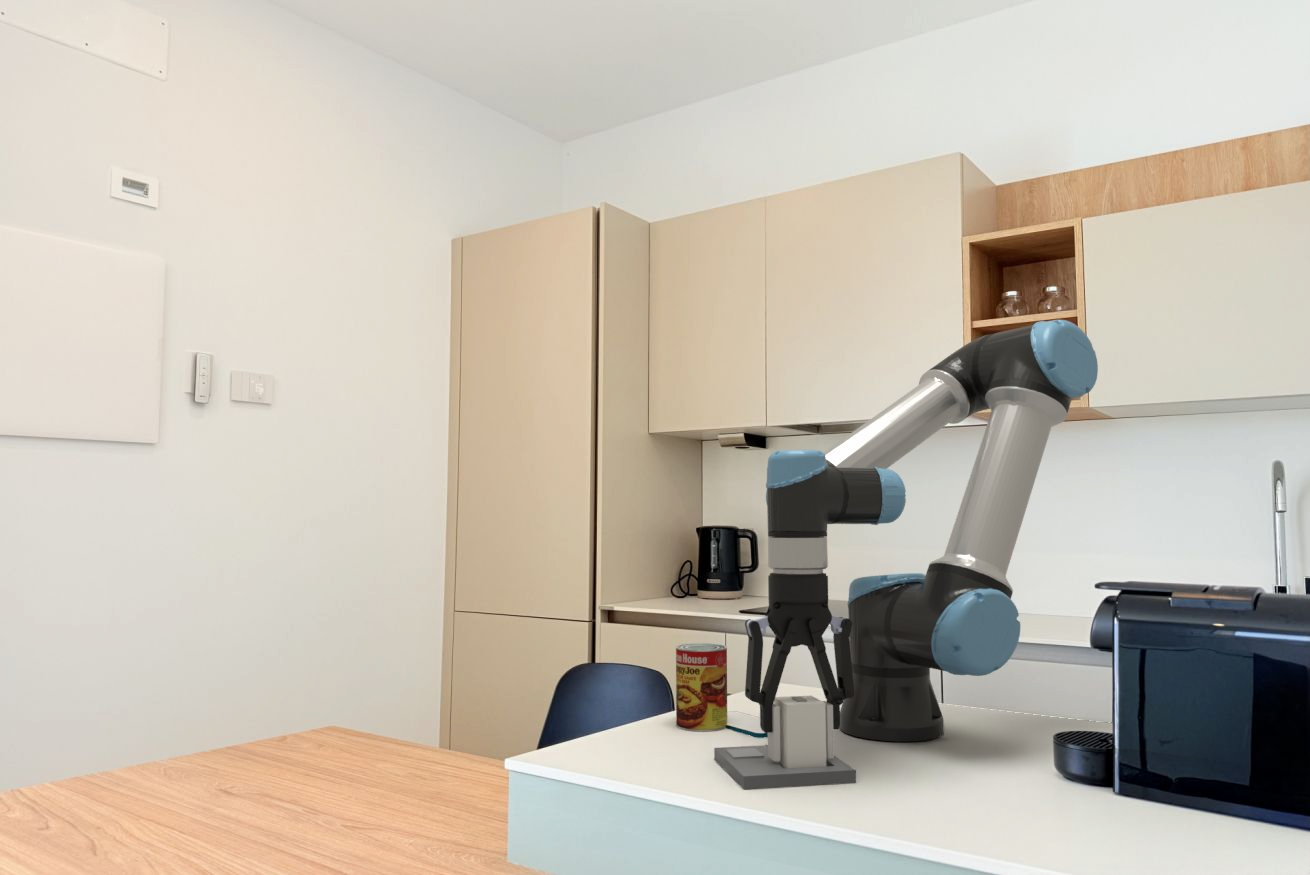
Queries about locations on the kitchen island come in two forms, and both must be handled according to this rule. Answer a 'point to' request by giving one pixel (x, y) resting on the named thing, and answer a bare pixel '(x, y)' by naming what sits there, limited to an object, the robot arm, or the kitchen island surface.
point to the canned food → (701, 687)
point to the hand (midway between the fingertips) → (800, 756)
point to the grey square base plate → (777, 769)
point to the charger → (802, 732)
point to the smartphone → (745, 724)
